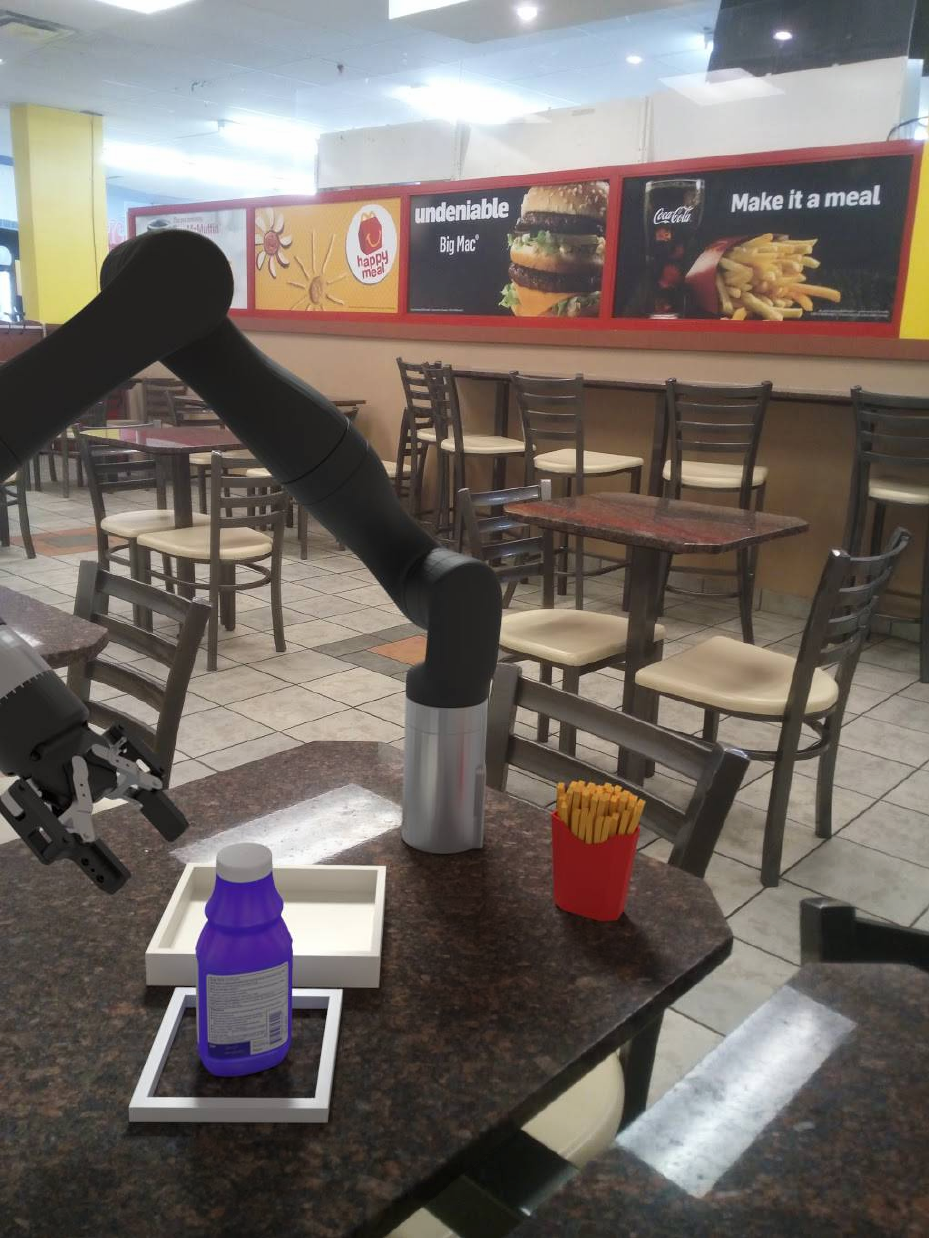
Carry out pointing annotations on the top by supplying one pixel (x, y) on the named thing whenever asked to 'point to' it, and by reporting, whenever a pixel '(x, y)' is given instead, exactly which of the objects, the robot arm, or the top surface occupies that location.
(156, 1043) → the frame
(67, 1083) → the top surface
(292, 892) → the tray
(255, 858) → the bottle
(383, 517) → the robot arm
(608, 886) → the french fries
